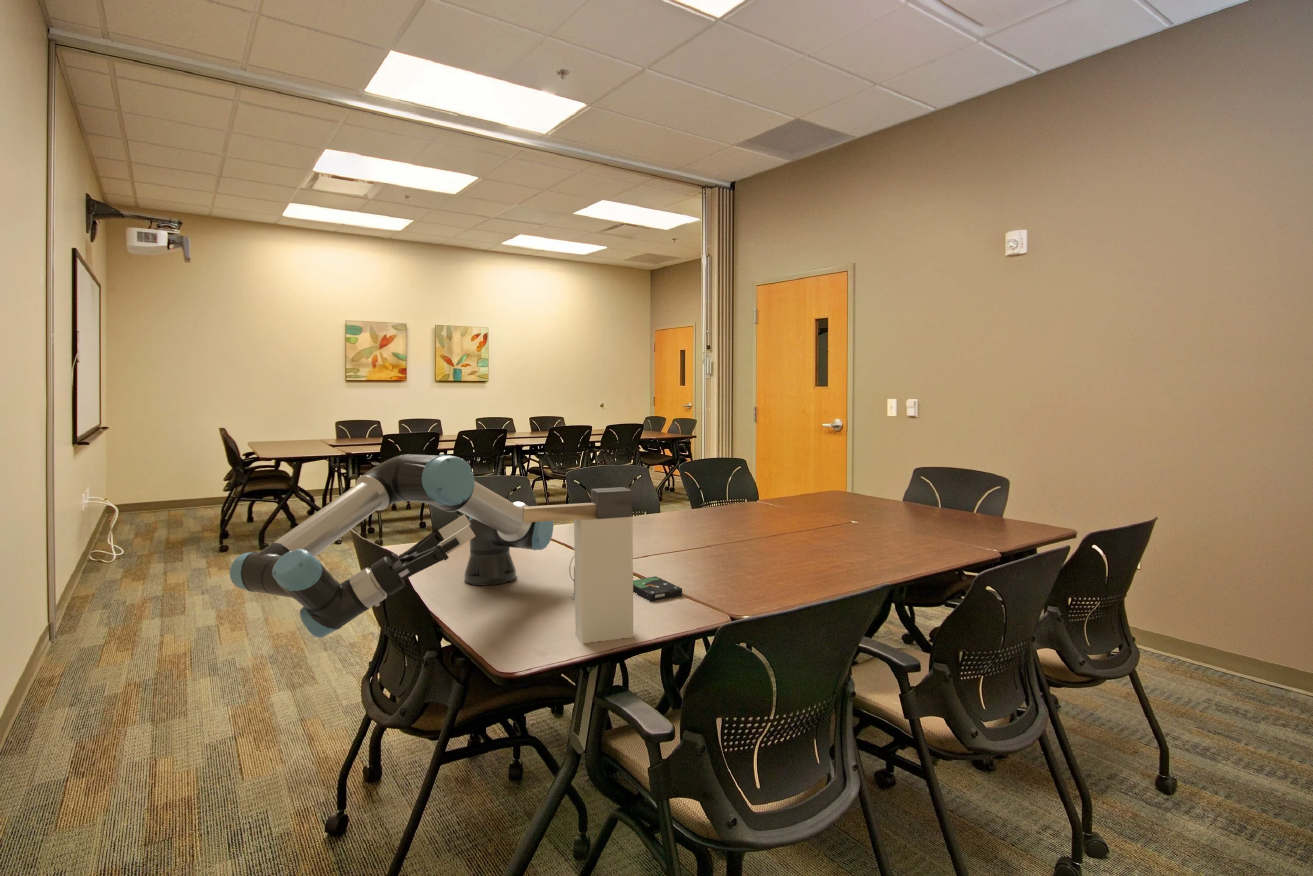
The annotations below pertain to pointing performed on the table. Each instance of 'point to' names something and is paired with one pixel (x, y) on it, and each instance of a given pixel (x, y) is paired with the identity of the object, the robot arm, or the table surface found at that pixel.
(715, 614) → the table surface
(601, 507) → the mallet
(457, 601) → the table surface
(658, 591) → the disk drive
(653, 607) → the table surface
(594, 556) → the stand
